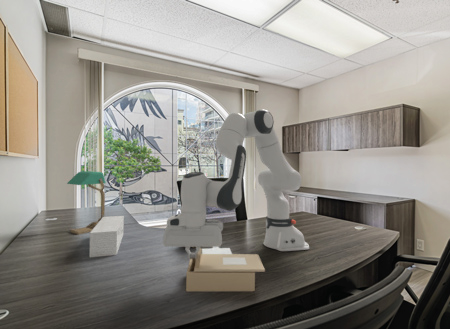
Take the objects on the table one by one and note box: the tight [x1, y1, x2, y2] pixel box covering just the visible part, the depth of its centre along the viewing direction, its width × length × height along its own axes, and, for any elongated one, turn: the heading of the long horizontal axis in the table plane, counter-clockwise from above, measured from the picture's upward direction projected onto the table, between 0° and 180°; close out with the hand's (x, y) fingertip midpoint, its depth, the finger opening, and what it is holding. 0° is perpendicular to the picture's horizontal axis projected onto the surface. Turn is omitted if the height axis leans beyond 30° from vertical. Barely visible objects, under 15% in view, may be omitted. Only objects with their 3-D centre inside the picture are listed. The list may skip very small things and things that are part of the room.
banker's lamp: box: [66, 170, 106, 235], centre depth 143 cm, size 16×21×35 cm
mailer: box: [185, 259, 256, 292], centre depth 83 cm, size 22×13×6 cm, turn 92°
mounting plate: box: [201, 247, 233, 254], centre depth 105 cm, size 18×13×2 cm
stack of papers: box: [89, 215, 125, 258], centre depth 119 cm, size 32×11×11 cm, turn 18°
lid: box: [194, 247, 266, 273], centre depth 83 cm, size 23×13×3 cm, turn 92°
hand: (192, 258), depth 83 cm, fingers closed
